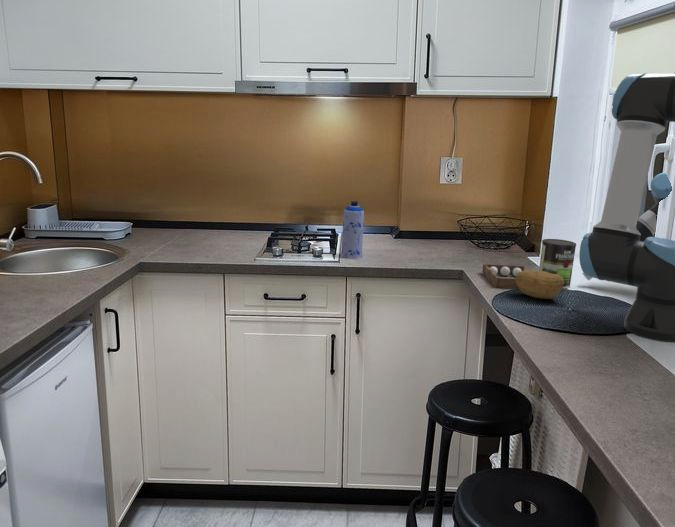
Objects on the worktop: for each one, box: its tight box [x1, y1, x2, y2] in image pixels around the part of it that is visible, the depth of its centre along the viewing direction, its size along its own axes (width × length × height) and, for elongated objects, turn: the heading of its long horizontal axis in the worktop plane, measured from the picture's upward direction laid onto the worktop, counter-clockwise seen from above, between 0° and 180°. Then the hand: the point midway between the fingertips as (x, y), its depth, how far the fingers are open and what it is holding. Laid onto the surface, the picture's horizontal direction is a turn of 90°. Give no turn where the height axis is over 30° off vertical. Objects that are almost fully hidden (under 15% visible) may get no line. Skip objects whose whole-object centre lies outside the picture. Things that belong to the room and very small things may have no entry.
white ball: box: [512, 268, 521, 277], centre depth 210 cm, size 3×3×3 cm
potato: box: [514, 269, 564, 300], centre depth 185 cm, size 10×14×8 cm
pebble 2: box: [500, 266, 511, 277], centre depth 210 cm, size 3×3×3 cm
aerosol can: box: [340, 200, 365, 260], centre depth 225 cm, size 8×8×20 cm
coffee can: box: [538, 238, 577, 290], centre depth 200 cm, size 10×10×14 cm
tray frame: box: [482, 263, 525, 290], centre depth 204 cm, size 19×14×3 cm
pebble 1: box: [490, 266, 498, 275], centre depth 210 cm, size 3×3×3 cm
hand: (585, 276), depth 201 cm, fingers closed
